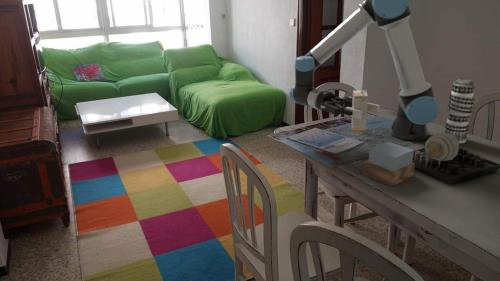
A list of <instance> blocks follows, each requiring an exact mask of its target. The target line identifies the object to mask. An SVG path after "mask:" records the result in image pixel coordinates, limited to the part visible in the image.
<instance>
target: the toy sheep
mask: <svg viewBox="0 0 500 281" xmlns="http://www.w3.org/2000/svg"><path fill="white" fill-rule="evenodd" d="M459 149H460V143H459V142H458V140H457V138H456V137H455V136H453V135H451V134H448V133H444V132H441V133H435V134H433V135H431V136H430V137H429V138H428V139H427V140H426V142H425V145H424V152H425V154H426V157H427V156H428V157H429V158H432V159H434V158H435V159H439V160H452V161H453V159H454V158H456V157H457V155H458V153H459ZM432 159H431V160H432Z"/></svg>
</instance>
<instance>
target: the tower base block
mask: <svg viewBox="0 0 500 281" xmlns="http://www.w3.org/2000/svg"><path fill="white" fill-rule="evenodd" d="M415 166H416V163H415V162H412V164H410V165H408V166H406V167H404V168H402V169H400V170H397V171H395V172H393V171H390V170H387V169H385V168H382V167H380V166H377V165H374V164H372V163H369V159H367V160H364V161H363V162H362V170H361V172H362V175H364V176H366V177H369V178H371V179H373V180H376V181H379V182H380V183H382V184H385V185H388V186H390V187H394V186H395V185H397V184H399V183H402V182H404V181H405V180H408V179H410V178H411V177H414V174H415Z"/></svg>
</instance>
